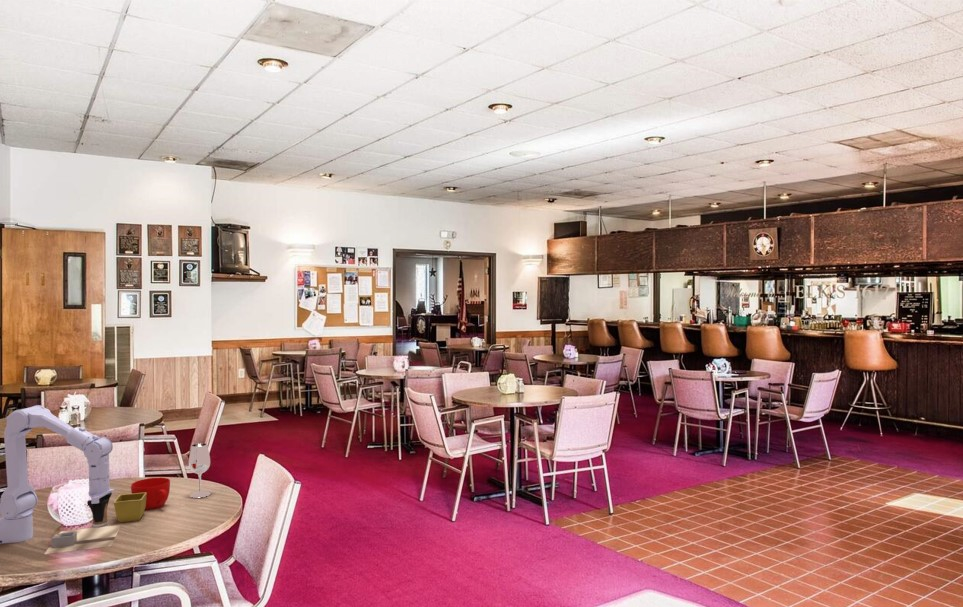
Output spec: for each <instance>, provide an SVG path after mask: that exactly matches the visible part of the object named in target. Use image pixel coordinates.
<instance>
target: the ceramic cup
mask: <svg viewBox="0 0 963 607" xmlns="http://www.w3.org/2000/svg"><path fill="white" fill-rule="evenodd" d="M170 487H171V479H170V478H167V477H151V478H150V477H148V478H144V479H140V480H136V481H134V482H132V483H131V484H130V492H131V493H130V494H135V493H145V492H146V493H147V494H146V506H145V510H154V509H157V508H161V507H163V506H164V505H165V503H166V502H167V501H168V498H169V495H170V489H171V488H170Z"/></svg>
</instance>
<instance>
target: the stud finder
mask: <svg viewBox="0 0 963 607" xmlns="http://www.w3.org/2000/svg"><path fill="white" fill-rule="evenodd" d="M76 542H77V531H76V532H68V533H60V532H59V533H55V534H53V536H52V537H51V544H52V548H56V547H65V546H73V545H75V543H76Z"/></svg>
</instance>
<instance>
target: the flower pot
mask: <svg viewBox="0 0 963 607" xmlns="http://www.w3.org/2000/svg"><path fill="white" fill-rule="evenodd" d="M146 494H147V493H146V492H145V493H135V494H132V493H126V494H125V493H124V494H119V495H118V497H117V498H116V499H115V500H114V502H113V506H114V512H115V515H116V519H117V520H118V522H119V523H124V522H136V521H140V520H141V518H142V517H143V516H144V513H145V510H146V509H145V506H146Z"/></svg>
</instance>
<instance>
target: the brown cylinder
mask: <svg viewBox="0 0 963 607" xmlns="http://www.w3.org/2000/svg"><path fill="white" fill-rule="evenodd" d="M105 526H109V520H108V506H107V503H106V506H105V511H104V518H103V521H102V522H95V521H94V518H93V517H92V523H91V528H100V527H105Z"/></svg>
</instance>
